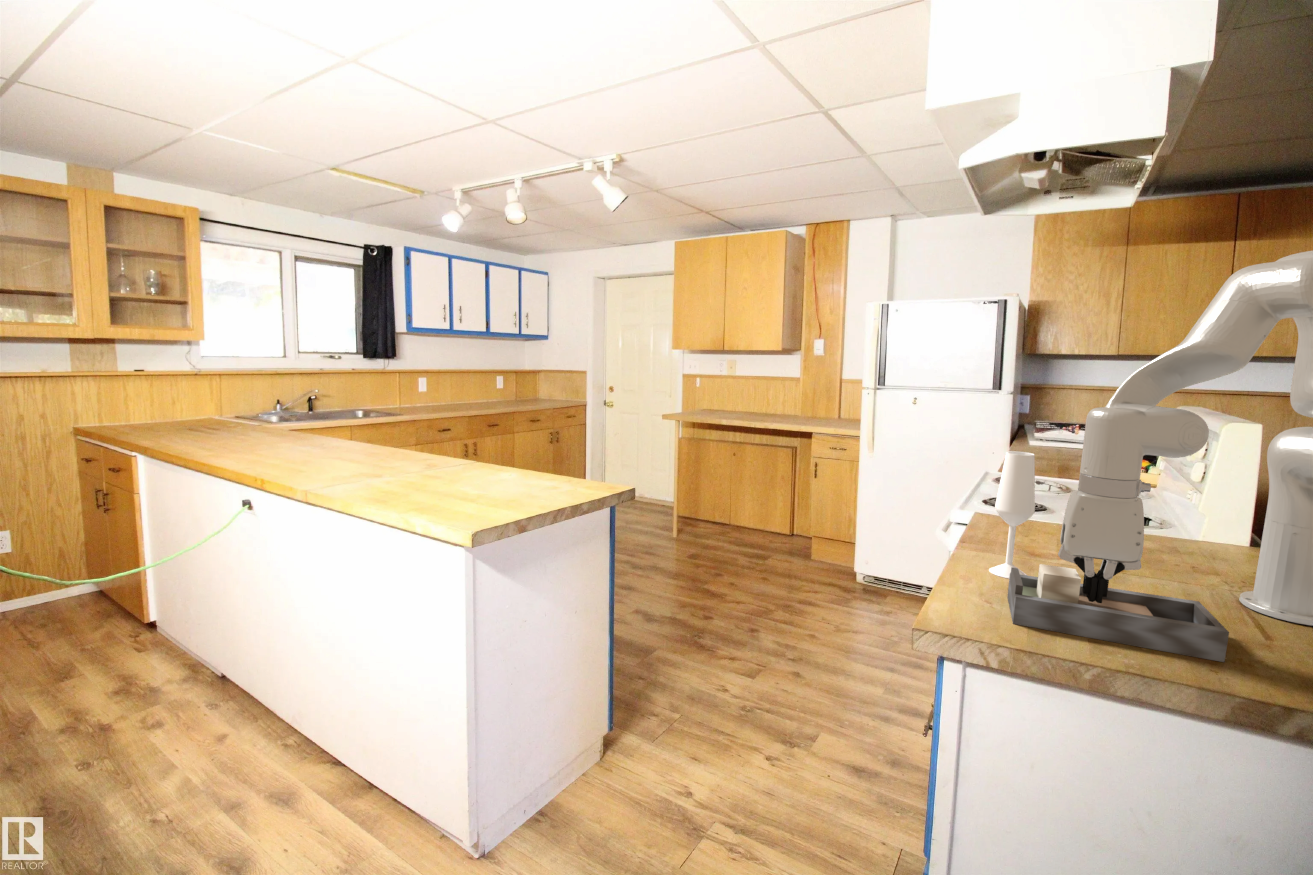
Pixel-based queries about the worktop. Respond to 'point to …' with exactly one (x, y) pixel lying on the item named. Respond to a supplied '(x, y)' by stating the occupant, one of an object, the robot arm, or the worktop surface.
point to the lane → (1122, 619)
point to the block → (1058, 583)
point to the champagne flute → (1015, 500)
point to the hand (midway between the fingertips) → (1093, 599)
